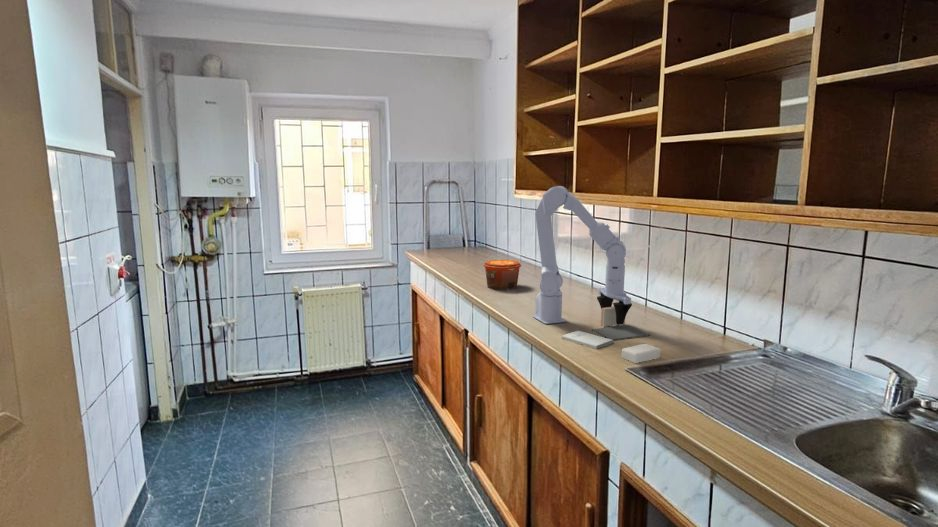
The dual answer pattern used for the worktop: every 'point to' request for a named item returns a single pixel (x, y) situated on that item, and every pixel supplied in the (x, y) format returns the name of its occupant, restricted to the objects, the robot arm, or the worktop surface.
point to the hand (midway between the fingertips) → (613, 321)
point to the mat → (620, 332)
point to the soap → (640, 353)
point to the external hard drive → (587, 339)
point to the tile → (608, 317)
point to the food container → (502, 274)
